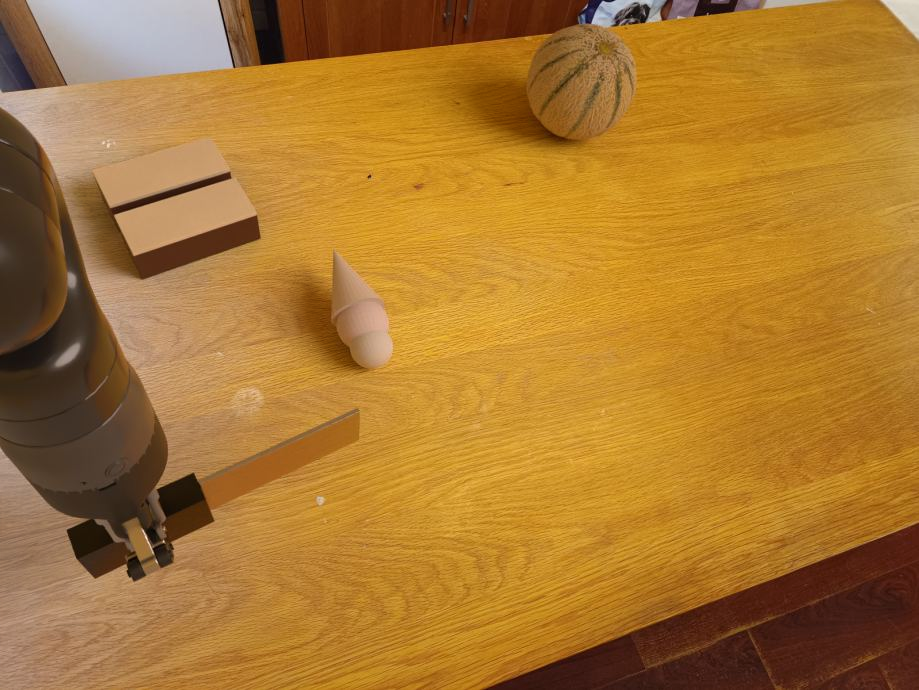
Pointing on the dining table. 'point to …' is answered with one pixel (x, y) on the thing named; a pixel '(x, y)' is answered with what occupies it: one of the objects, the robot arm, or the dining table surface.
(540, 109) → the cantaloupe
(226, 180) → the slotted tan block
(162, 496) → the knife
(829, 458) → the dining table surface
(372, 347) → the ice cream cone
